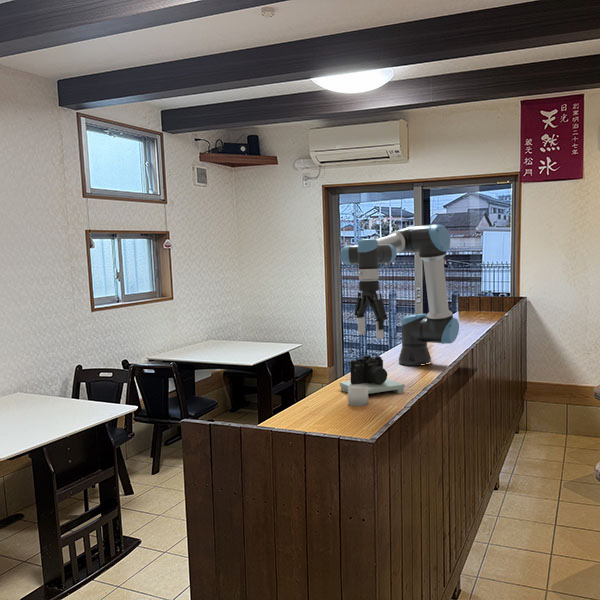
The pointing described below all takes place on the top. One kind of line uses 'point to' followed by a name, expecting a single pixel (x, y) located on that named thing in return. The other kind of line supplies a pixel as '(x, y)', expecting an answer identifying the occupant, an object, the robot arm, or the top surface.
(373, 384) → the stand
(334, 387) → the top surface
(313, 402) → the top surface
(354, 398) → the grey rounded block
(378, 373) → the camera
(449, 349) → the top surface
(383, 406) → the top surface
